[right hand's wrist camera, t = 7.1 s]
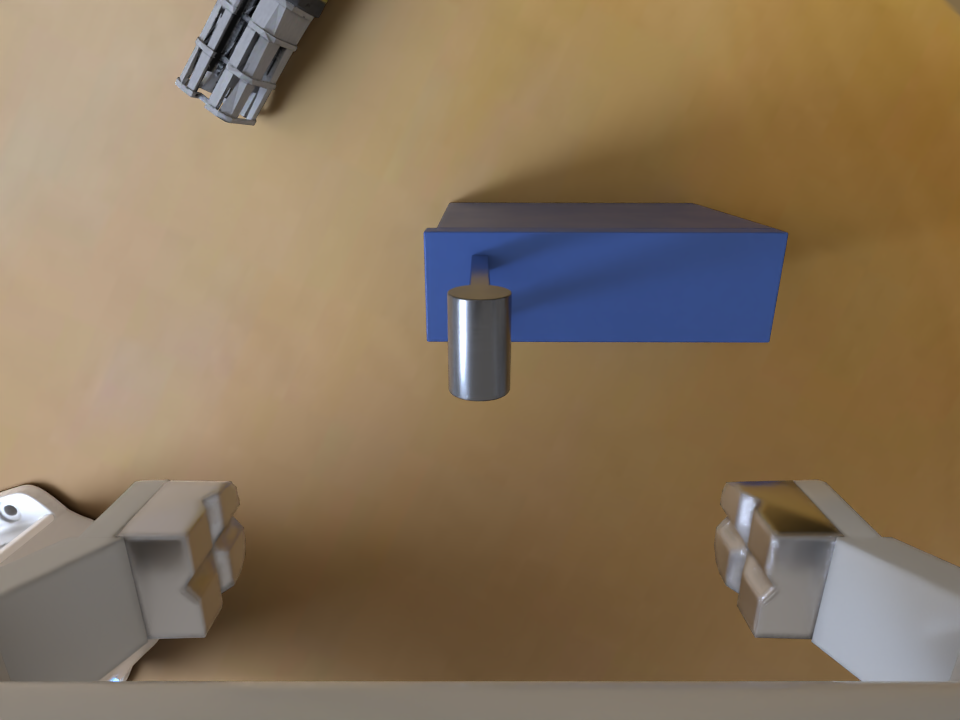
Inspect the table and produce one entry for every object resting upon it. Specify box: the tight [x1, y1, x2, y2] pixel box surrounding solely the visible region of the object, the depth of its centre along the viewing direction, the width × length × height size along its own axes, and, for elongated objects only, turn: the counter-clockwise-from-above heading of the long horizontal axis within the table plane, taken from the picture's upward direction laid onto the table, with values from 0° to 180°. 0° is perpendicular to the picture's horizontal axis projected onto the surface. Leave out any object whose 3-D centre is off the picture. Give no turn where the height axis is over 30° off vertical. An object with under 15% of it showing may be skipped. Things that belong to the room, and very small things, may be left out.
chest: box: [437, 203, 775, 229], centre depth 32 cm, size 14×5×11 cm, turn 90°
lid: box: [424, 228, 788, 401], centre depth 22 cm, size 15×5×9 cm, turn 90°
